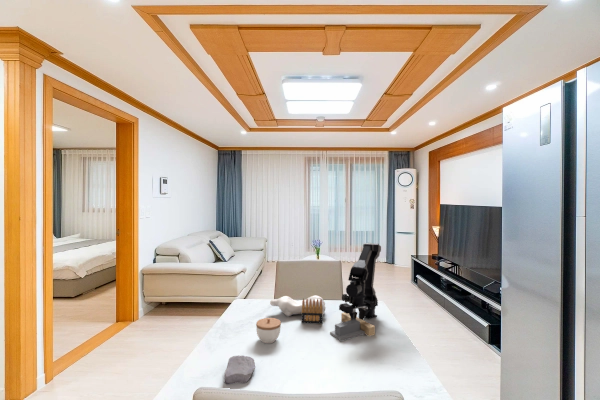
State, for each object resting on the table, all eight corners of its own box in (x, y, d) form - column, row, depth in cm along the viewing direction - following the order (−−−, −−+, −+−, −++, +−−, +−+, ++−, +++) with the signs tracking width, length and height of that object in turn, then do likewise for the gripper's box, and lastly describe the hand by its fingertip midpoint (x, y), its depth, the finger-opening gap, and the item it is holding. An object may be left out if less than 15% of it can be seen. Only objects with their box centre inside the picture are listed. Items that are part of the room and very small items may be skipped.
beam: (341, 321, 150) (341, 313, 151) (346, 319, 152) (346, 311, 152) (369, 336, 133) (369, 327, 133) (374, 334, 135) (374, 326, 135)
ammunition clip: (322, 322, 149) (322, 298, 149) (322, 323, 147) (322, 299, 147) (301, 321, 149) (301, 297, 149) (301, 323, 147) (301, 299, 147)
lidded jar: (284, 337, 131) (285, 316, 132) (272, 348, 122) (273, 325, 122) (264, 332, 136) (264, 312, 136) (251, 342, 126) (251, 321, 126)
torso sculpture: (323, 312, 167) (271, 306, 168) (325, 294, 167) (273, 287, 168) (324, 324, 151) (267, 316, 152) (326, 303, 151) (269, 296, 152)
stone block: (254, 368, 110) (227, 364, 109) (256, 356, 110) (230, 352, 109) (251, 390, 98) (221, 385, 97) (254, 376, 98) (224, 371, 97)
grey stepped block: (353, 327, 142) (353, 317, 143) (364, 333, 136) (364, 322, 136) (330, 334, 135) (330, 323, 135) (341, 341, 128) (341, 329, 128)
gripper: (361, 285, 155) (360, 315, 155) (333, 289, 146) (331, 320, 145) (377, 291, 145) (375, 323, 145) (347, 295, 136) (345, 329, 136)
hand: (356, 324), depth 143 cm, fingers open, 4 cm apart
